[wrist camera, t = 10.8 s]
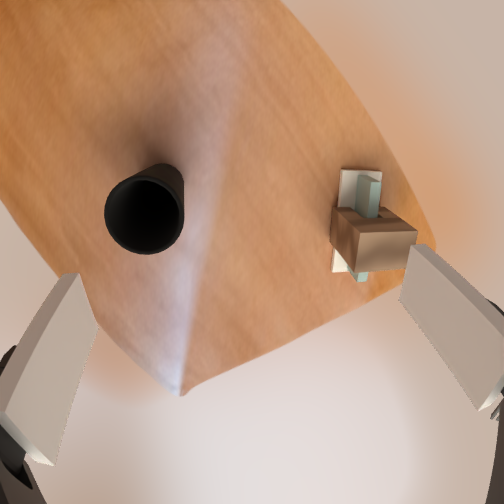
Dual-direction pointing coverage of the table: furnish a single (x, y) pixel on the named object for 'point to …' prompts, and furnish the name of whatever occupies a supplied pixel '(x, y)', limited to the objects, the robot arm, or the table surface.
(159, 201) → the cup
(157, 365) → the table surface
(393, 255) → the brown notched block
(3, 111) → the table surface
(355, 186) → the inverted t-shaped bar
